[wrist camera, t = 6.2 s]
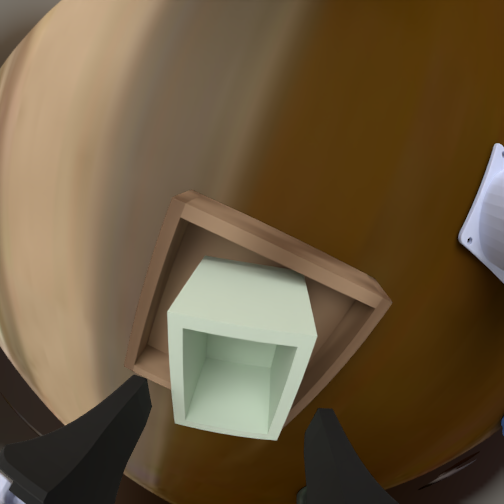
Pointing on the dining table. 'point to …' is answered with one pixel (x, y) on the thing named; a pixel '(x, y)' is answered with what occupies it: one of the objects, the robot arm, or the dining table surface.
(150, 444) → the dining table surface
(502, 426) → the bowl
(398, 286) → the dining table surface
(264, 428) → the box
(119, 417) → the robot arm
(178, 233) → the big crate
